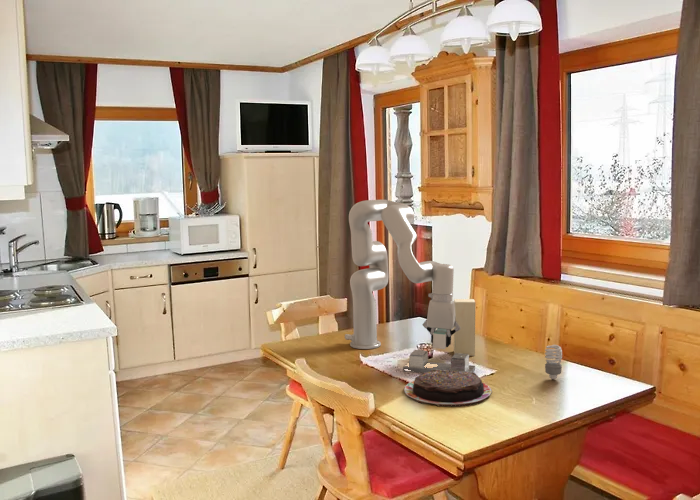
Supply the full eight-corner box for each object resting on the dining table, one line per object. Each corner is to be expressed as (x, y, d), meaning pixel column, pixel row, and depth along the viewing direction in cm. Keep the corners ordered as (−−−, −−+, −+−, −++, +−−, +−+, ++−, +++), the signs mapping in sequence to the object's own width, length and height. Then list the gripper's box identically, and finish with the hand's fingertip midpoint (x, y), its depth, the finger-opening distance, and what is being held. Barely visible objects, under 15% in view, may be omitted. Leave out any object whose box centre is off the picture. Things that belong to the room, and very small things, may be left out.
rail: (403, 371, 237) (403, 354, 236) (410, 364, 245) (410, 348, 245) (470, 377, 228) (470, 360, 228) (475, 369, 237) (475, 353, 236)
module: (432, 347, 245) (433, 332, 244) (437, 343, 251) (437, 328, 250) (444, 349, 244) (445, 333, 243) (448, 344, 250) (449, 329, 249)
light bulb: (562, 377, 226) (562, 343, 224) (561, 382, 220) (562, 347, 219) (544, 376, 227) (545, 342, 226) (544, 381, 222) (544, 346, 221)
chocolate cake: (401, 380, 228) (401, 361, 227) (483, 379, 227) (483, 360, 226) (406, 409, 200) (406, 388, 200) (499, 408, 199) (499, 387, 199)
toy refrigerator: (473, 350, 262) (473, 298, 259) (475, 355, 255) (475, 302, 252) (453, 350, 263) (453, 298, 260) (454, 355, 255) (454, 302, 253)
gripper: (417, 297, 244) (416, 345, 247) (463, 301, 238) (461, 350, 241) (422, 293, 251) (421, 340, 254) (467, 297, 245) (465, 345, 248)
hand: (440, 344), depth 248 cm, fingers closed on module, 4 cm apart
